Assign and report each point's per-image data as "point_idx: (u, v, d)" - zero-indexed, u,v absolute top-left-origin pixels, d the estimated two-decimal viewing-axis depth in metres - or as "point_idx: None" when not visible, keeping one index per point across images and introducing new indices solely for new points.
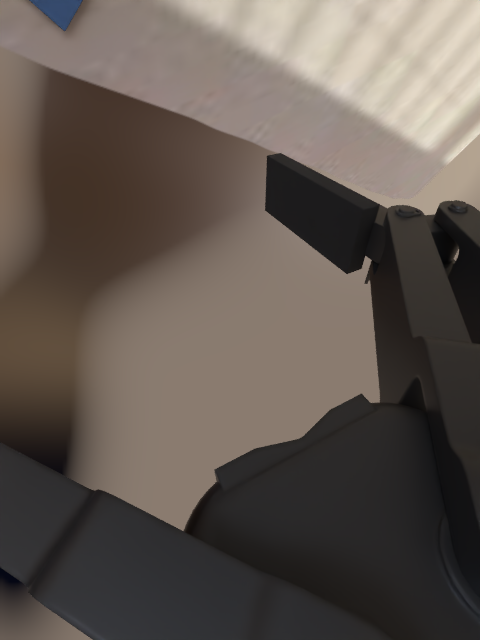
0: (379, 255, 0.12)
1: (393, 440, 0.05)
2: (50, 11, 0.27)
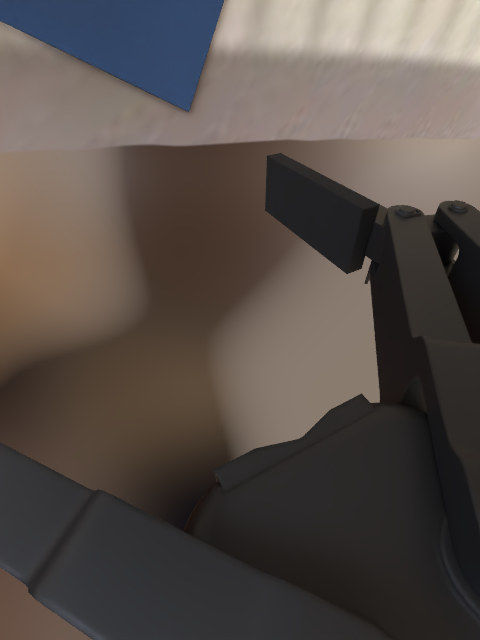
0: (379, 255, 0.12)
1: (393, 440, 0.05)
2: (178, 101, 0.33)
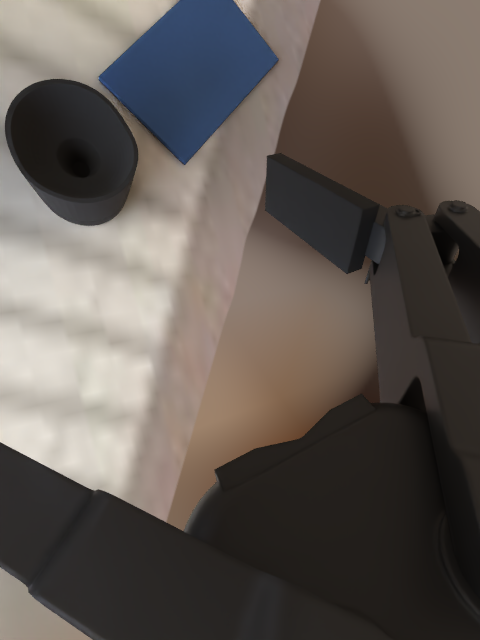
0: (379, 255, 0.12)
1: (393, 440, 0.05)
2: (270, 63, 0.42)
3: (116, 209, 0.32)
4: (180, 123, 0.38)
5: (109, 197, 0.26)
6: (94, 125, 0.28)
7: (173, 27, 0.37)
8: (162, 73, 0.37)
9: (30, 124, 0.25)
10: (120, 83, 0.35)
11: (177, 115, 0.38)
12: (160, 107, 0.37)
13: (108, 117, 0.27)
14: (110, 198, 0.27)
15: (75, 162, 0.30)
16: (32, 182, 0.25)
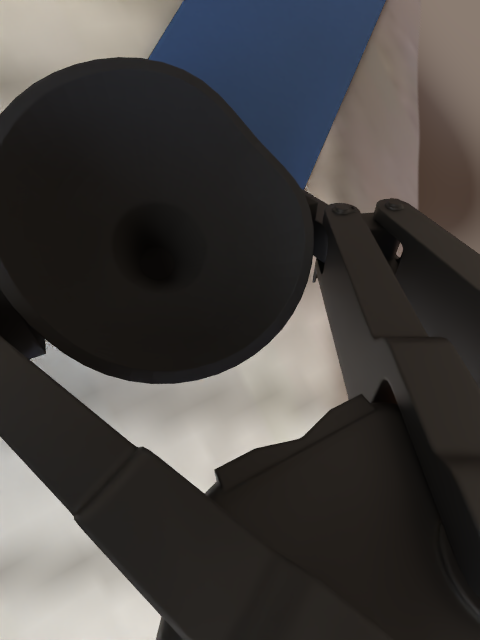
0: (323, 254, 0.12)
1: (393, 440, 0.05)
2: None
3: None
4: (280, 126, 0.21)
5: (275, 334, 0.10)
6: (182, 163, 0.12)
7: None
8: (232, 51, 0.21)
9: (42, 202, 0.10)
10: None
11: (272, 114, 0.21)
12: (243, 108, 0.21)
13: (213, 134, 0.11)
14: None
15: (143, 252, 0.14)
16: (81, 359, 0.09)
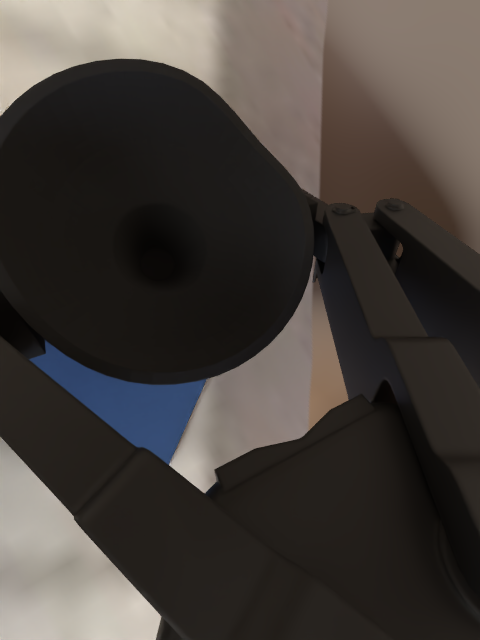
0: (323, 254, 0.12)
1: (393, 440, 0.05)
2: None
3: None
4: (141, 403, 0.20)
5: (276, 335, 0.10)
6: (182, 164, 0.12)
7: None
8: None
9: (43, 203, 0.10)
10: None
11: (132, 392, 0.20)
12: (97, 394, 0.20)
13: (214, 135, 0.11)
14: None
15: (143, 253, 0.14)
16: (82, 360, 0.09)
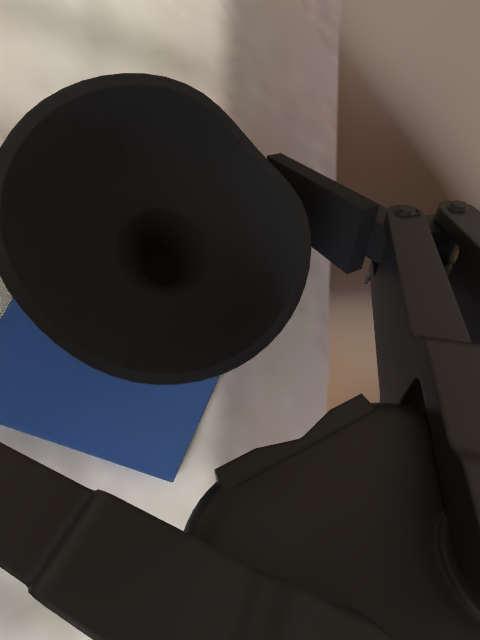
0: (379, 255, 0.12)
1: (393, 440, 0.05)
2: None
3: None
4: (144, 410, 0.18)
5: (274, 337, 0.10)
6: (184, 172, 0.12)
7: None
8: None
9: (50, 211, 0.10)
10: (0, 396, 0.16)
11: (134, 398, 0.18)
12: (96, 400, 0.18)
13: (214, 144, 0.11)
14: None
15: (146, 257, 0.15)
16: (89, 361, 0.09)
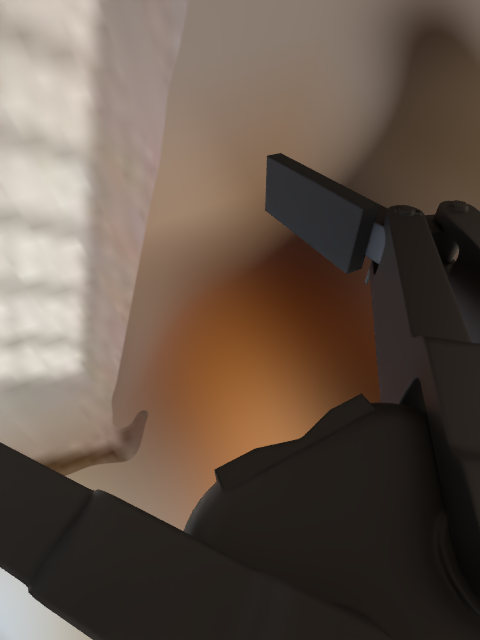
0: (379, 255, 0.12)
1: (393, 440, 0.05)
2: None
3: None
4: None
5: None
6: None
7: None
8: None
9: None
10: None
11: None
12: None
13: None
14: None
15: None
16: None
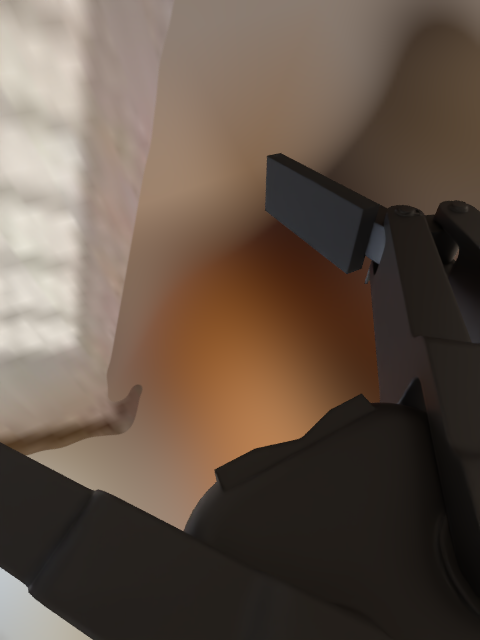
0: (379, 255, 0.12)
1: (393, 440, 0.05)
2: None
3: None
4: None
5: None
6: None
7: None
8: None
9: None
10: None
11: None
12: None
13: None
14: None
15: None
16: None
